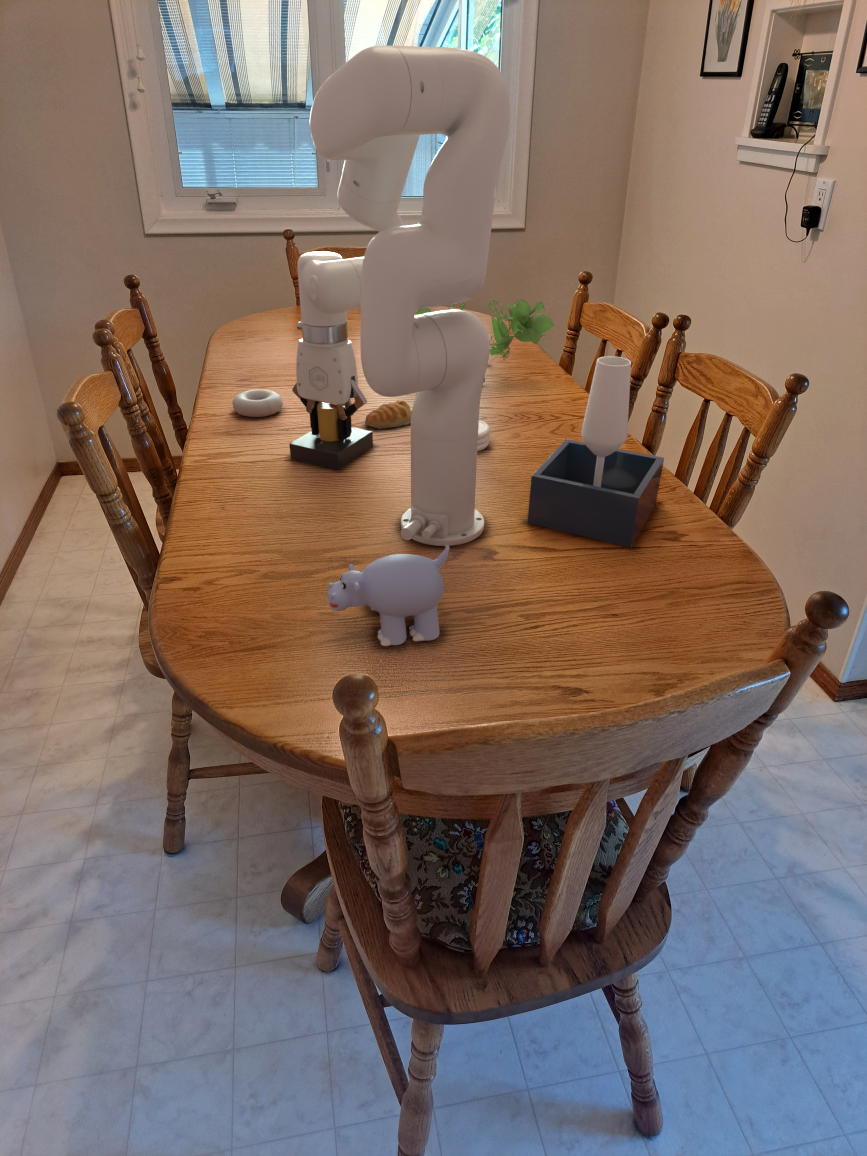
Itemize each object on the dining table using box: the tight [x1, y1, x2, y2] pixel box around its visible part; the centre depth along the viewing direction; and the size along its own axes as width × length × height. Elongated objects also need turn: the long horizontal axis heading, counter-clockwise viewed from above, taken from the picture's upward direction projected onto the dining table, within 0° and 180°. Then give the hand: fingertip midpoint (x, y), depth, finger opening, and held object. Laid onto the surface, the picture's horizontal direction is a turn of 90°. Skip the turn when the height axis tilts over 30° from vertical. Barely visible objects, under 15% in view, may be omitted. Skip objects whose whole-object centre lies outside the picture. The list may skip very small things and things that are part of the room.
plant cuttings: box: [415, 299, 555, 383], centre depth 174 cm, size 35×17×22 cm
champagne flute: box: [580, 355, 632, 487], centre depth 115 cm, size 7×7×24 cm
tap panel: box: [288, 426, 374, 471], centre depth 140 cm, size 12×10×3 cm
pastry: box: [364, 400, 412, 430], centre depth 153 cm, size 9×7×4 cm
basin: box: [527, 439, 665, 548], centre depth 120 cm, size 16×16×8 cm
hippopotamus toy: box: [326, 545, 451, 647], centre depth 94 cm, size 11×15×10 cm
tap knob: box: [317, 402, 340, 442], centre depth 138 cm, size 4×4×6 cm
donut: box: [232, 388, 283, 418], centre depth 158 cm, size 10×4×10 cm
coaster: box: [477, 419, 491, 452], centre depth 144 cm, size 10×10×4 cm
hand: (331, 434), depth 139 cm, fingers open, 4 cm apart
